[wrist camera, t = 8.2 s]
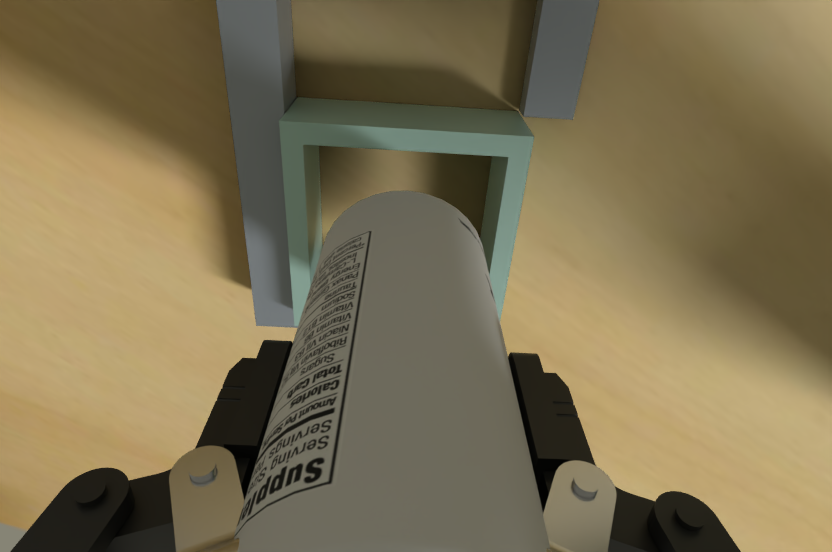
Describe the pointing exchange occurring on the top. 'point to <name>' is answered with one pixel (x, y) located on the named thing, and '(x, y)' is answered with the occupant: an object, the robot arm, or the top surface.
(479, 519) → the energy drink can
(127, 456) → the top surface
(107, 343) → the top surface
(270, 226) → the rail
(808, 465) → the top surface
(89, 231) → the top surface
